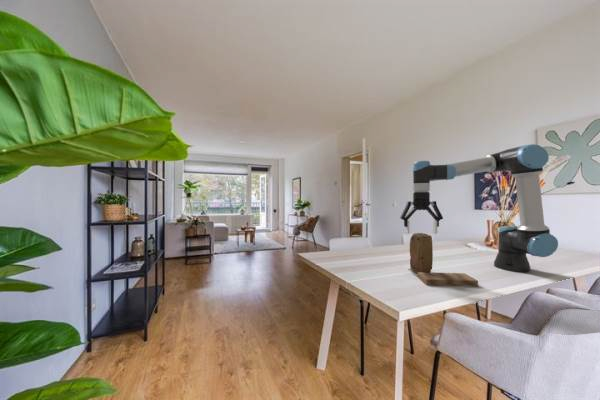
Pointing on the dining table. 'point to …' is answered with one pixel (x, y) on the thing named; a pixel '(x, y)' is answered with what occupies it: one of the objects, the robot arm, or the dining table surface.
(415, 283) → the dining table surface
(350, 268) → the dining table surface
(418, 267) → the block
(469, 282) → the board
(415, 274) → the end pad
